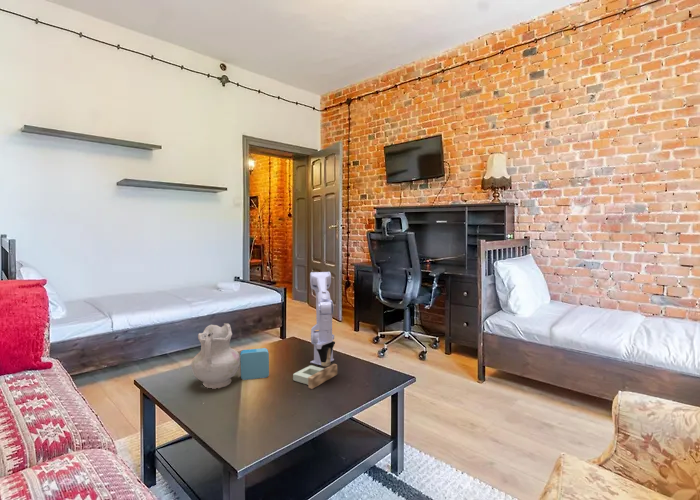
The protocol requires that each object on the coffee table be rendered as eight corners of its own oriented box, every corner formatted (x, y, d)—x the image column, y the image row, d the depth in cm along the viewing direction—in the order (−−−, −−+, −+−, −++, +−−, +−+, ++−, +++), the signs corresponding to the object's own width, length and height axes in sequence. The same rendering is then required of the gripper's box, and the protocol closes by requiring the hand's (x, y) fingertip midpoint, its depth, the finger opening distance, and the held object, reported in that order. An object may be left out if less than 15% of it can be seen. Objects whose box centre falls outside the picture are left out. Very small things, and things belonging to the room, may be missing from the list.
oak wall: (333, 373, 172) (333, 363, 172) (337, 374, 171) (337, 364, 171) (308, 387, 157) (308, 377, 157) (312, 389, 156) (312, 378, 156)
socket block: (310, 371, 174) (310, 365, 174) (328, 375, 169) (328, 369, 169) (293, 380, 164) (293, 373, 164) (311, 385, 159) (311, 379, 159)
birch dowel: (326, 362, 167) (326, 346, 167) (332, 364, 165) (332, 348, 164) (319, 364, 165) (319, 348, 164) (325, 367, 162) (325, 351, 161)
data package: (268, 373, 172) (268, 347, 171) (269, 377, 168) (268, 350, 167) (240, 376, 169) (240, 350, 168) (240, 380, 165) (240, 353, 164)
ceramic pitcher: (239, 394, 154) (243, 333, 152) (187, 398, 148) (190, 334, 146) (238, 374, 174) (241, 320, 173) (192, 376, 168) (195, 320, 167)
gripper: (324, 324, 171) (324, 353, 173) (309, 332, 158) (309, 364, 159) (338, 325, 169) (338, 355, 170) (325, 334, 155) (325, 367, 157)
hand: (325, 360), depth 164 cm, fingers closed on birch dowel, 4 cm apart
